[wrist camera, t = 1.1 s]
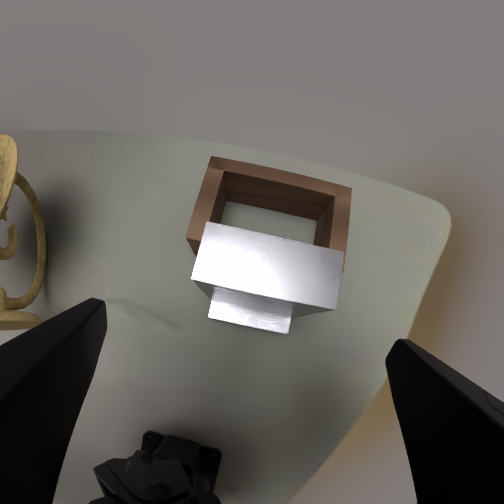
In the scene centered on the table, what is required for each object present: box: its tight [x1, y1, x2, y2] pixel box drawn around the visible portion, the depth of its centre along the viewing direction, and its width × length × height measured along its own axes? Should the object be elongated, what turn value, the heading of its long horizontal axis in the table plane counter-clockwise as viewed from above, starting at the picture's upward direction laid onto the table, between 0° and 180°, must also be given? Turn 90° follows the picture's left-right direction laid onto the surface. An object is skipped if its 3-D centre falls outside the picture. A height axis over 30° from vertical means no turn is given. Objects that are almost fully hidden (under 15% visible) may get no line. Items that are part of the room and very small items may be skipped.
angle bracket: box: [191, 222, 344, 334], centre depth 17 cm, size 5×6×11 cm
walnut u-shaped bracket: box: [186, 156, 352, 273], centre depth 21 cm, size 6×10×5 cm, turn 78°
